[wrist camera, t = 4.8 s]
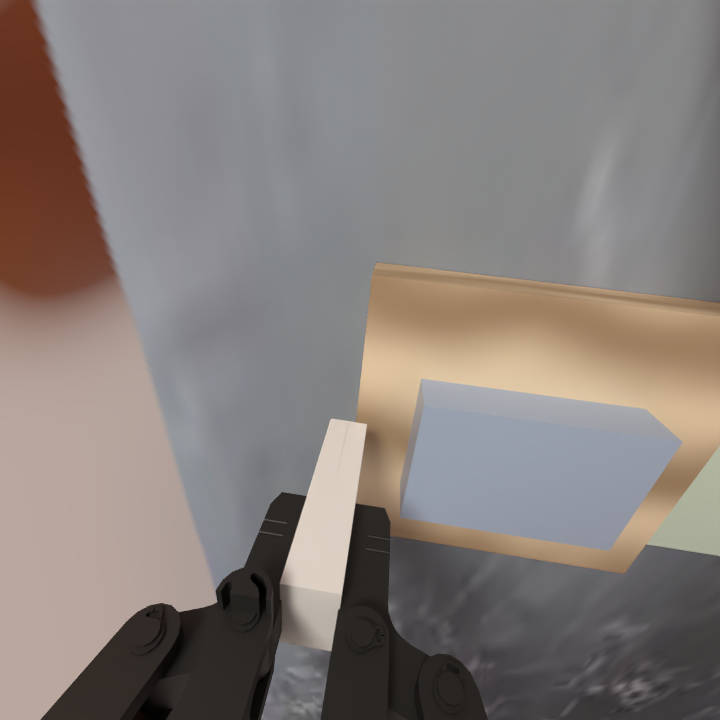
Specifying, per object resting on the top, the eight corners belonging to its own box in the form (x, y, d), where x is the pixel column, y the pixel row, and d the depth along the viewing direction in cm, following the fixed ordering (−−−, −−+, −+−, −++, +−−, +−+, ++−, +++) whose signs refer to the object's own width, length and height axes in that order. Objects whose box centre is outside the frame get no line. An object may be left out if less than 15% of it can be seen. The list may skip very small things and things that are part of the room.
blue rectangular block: (400, 483, 17) (399, 517, 15) (421, 378, 14) (423, 405, 12) (586, 511, 16) (609, 550, 14) (645, 409, 14) (682, 441, 12)
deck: (376, 262, 15) (372, 275, 12) (742, 305, 14) (807, 327, 12) (350, 492, 21) (344, 528, 19) (599, 531, 20) (624, 573, 18)
